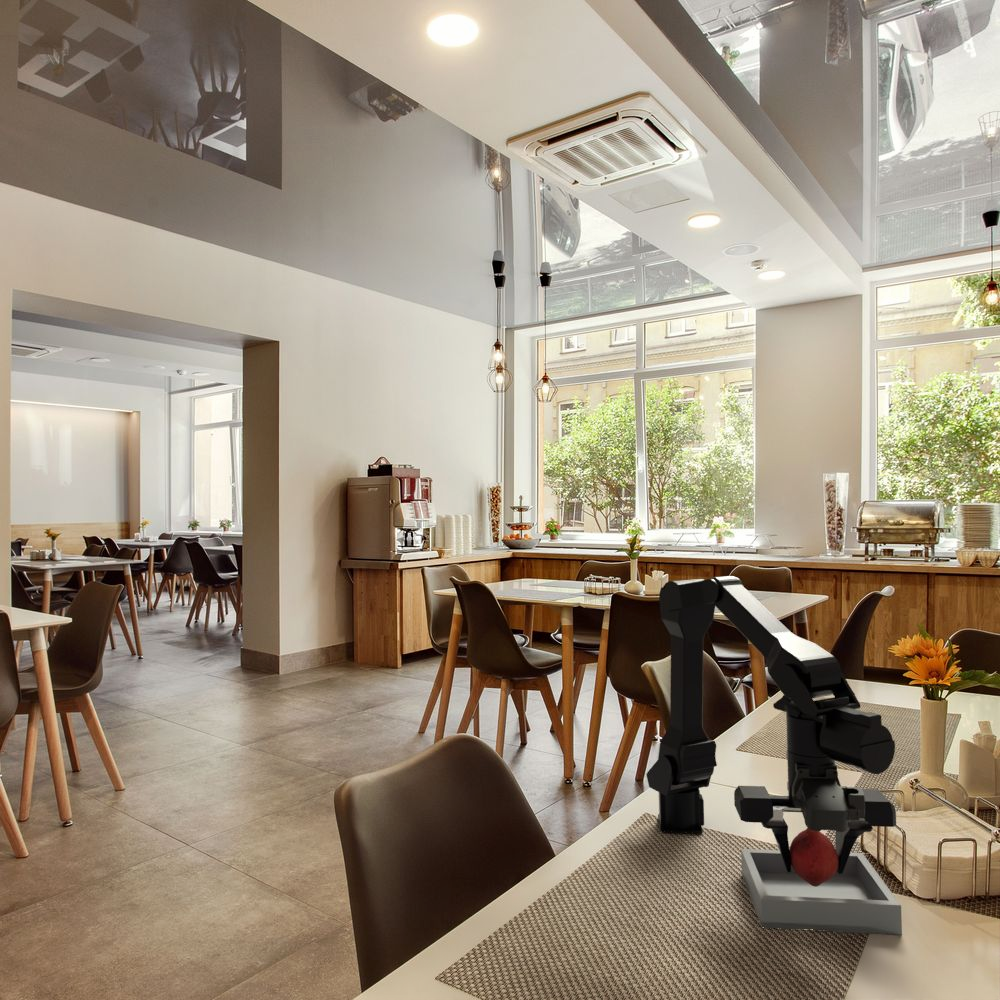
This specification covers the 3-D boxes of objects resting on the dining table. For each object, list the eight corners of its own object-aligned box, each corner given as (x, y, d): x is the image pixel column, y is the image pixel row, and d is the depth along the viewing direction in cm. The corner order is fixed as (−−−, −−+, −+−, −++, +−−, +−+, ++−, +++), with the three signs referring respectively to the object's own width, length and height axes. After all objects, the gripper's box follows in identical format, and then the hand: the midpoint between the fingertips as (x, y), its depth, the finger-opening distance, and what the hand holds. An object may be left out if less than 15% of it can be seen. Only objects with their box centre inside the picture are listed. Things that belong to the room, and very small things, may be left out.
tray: (761, 928, 94) (760, 899, 94) (741, 874, 108) (741, 848, 108) (902, 935, 92) (901, 905, 92) (863, 879, 105) (862, 853, 105)
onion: (816, 901, 96) (814, 836, 96) (780, 882, 101) (778, 820, 101) (848, 889, 99) (846, 826, 99) (811, 871, 104) (810, 811, 104)
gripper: (747, 769, 93) (750, 900, 93) (911, 773, 91) (915, 907, 90) (732, 741, 104) (735, 858, 104) (878, 744, 102) (881, 864, 102)
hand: (813, 871), depth 100 cm, fingers closed on onion, 6 cm apart
